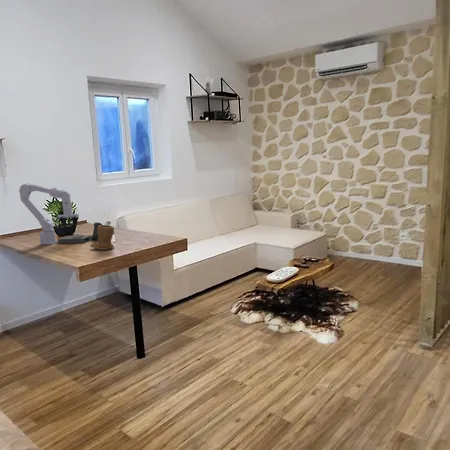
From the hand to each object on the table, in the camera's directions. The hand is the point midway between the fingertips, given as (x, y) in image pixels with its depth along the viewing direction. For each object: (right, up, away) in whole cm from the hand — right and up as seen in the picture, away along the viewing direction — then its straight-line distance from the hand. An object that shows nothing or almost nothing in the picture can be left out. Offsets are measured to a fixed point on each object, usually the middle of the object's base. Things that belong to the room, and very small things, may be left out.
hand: (70, 227), depth 286 cm
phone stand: (+21, -8, 0) cm, 22 cm away
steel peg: (+6, -10, -2) cm, 11 cm away
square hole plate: (+4, -9, -1) cm, 10 cm away
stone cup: (+33, -13, -29) cm, 46 cm away
